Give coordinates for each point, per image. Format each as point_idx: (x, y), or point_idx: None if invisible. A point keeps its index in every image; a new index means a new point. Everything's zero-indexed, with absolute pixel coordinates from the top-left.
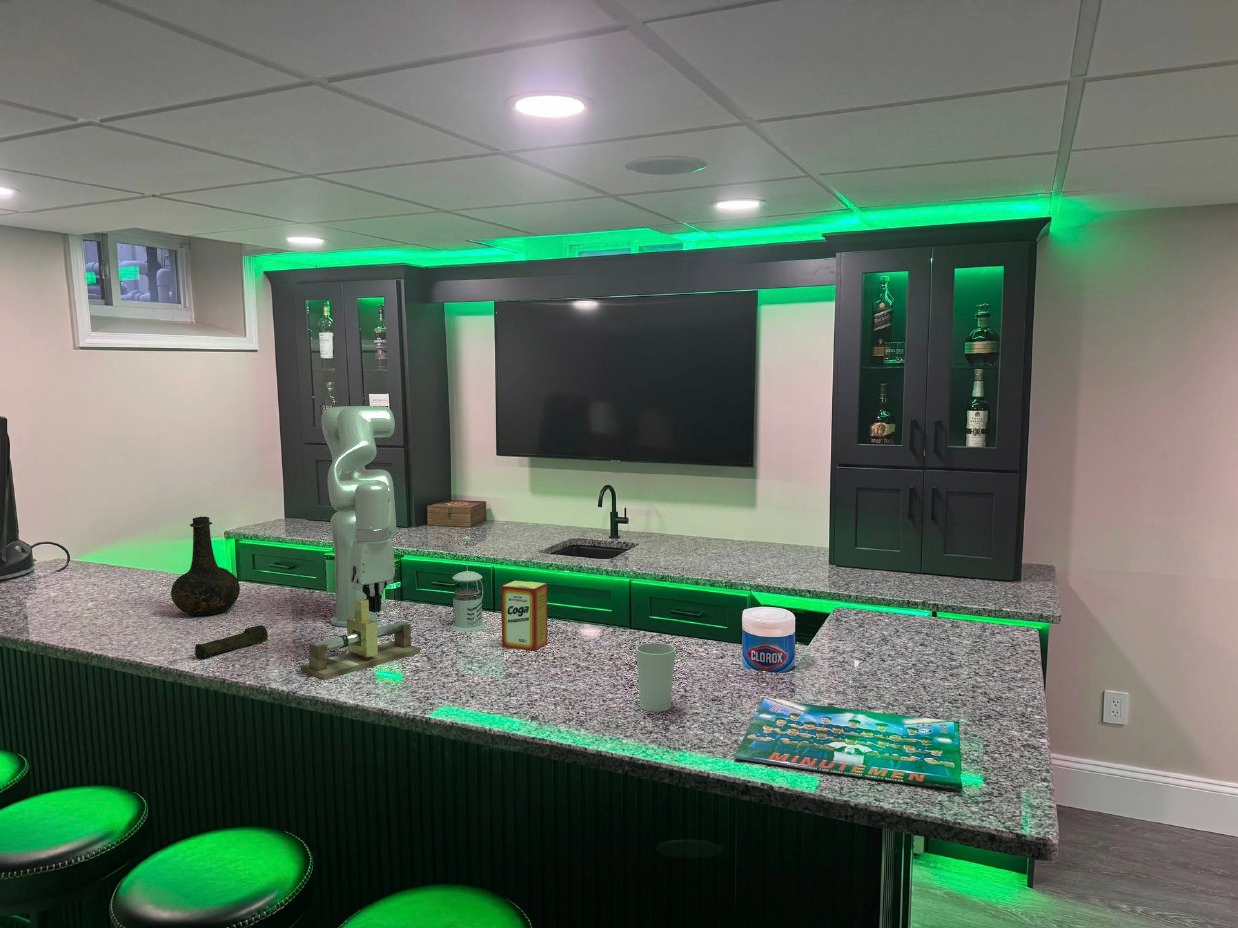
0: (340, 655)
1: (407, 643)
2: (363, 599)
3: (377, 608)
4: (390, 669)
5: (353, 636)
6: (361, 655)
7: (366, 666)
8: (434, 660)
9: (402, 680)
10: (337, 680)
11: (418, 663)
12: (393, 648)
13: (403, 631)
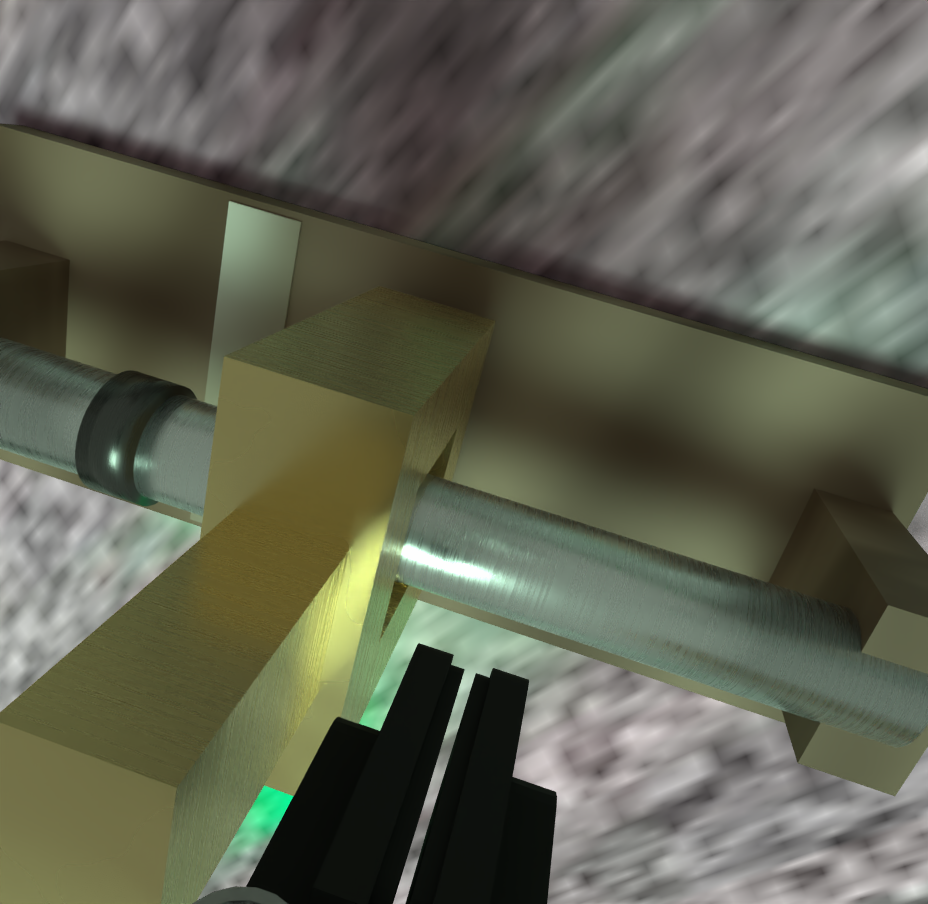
0: (342, 238)
1: None
2: (95, 898)
3: (422, 846)
4: (376, 695)
5: None
6: None
7: None
8: (656, 850)
9: (266, 837)
10: (62, 523)
11: (557, 790)
12: (708, 538)
13: None
